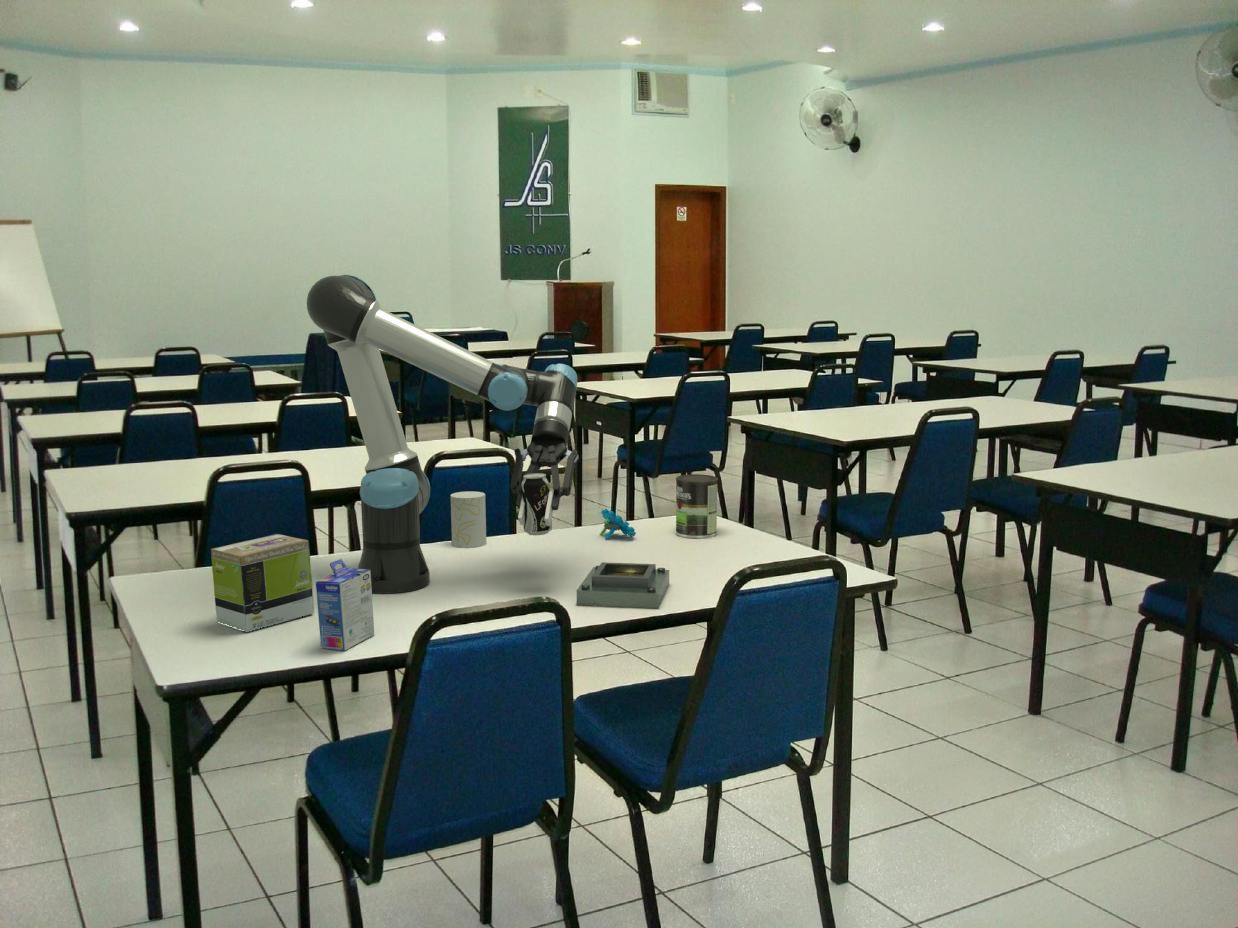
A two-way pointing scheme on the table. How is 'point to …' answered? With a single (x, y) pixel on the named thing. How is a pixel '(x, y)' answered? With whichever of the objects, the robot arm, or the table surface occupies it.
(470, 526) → the cup
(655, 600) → the grey socket fixture
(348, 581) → the ink cartridge box
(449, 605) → the table surface
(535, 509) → the beverage can
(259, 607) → the tea box
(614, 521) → the blue lumpy piece
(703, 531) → the coffee can
